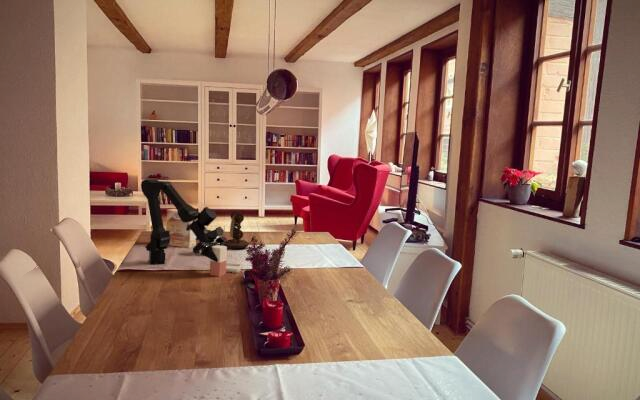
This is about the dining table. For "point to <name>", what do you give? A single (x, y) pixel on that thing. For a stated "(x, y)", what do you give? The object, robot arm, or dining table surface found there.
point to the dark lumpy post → (236, 232)
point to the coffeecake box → (179, 230)
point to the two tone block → (219, 266)
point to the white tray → (233, 267)
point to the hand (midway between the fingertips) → (221, 260)
